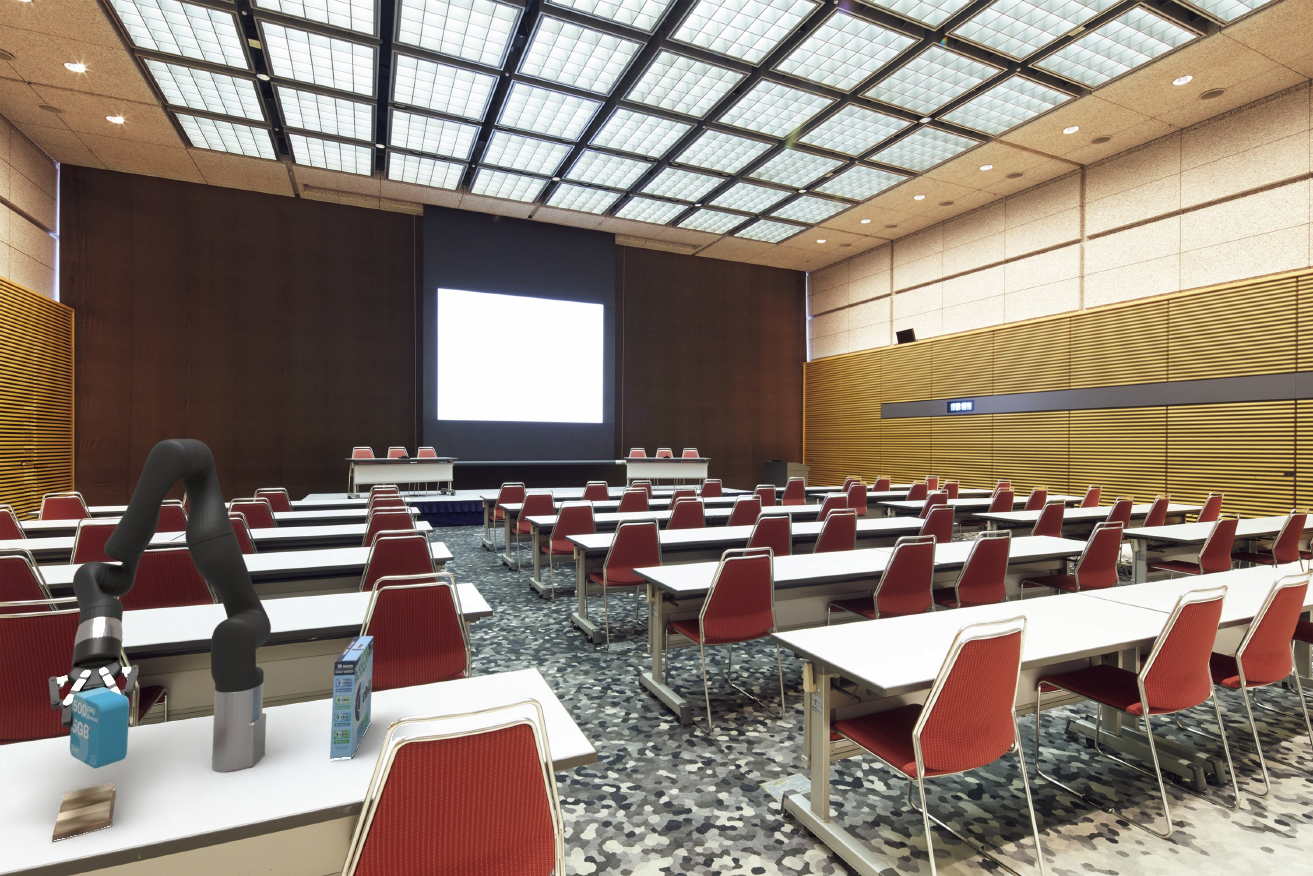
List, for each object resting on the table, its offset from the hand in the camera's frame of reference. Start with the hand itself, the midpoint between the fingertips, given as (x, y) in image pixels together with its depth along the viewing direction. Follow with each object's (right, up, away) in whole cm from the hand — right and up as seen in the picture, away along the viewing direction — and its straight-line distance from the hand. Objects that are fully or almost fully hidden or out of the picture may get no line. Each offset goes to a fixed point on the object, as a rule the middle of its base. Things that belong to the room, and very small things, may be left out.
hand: (90, 722), depth 122 cm
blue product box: (+36, -19, +31) cm, 51 cm away
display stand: (+1, -17, -2) cm, 17 cm away
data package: (+3, -6, -2) cm, 7 cm away
